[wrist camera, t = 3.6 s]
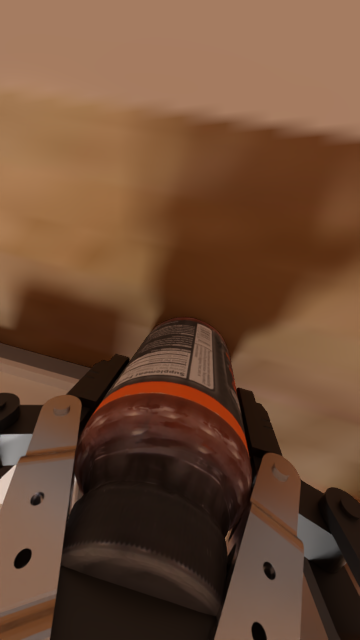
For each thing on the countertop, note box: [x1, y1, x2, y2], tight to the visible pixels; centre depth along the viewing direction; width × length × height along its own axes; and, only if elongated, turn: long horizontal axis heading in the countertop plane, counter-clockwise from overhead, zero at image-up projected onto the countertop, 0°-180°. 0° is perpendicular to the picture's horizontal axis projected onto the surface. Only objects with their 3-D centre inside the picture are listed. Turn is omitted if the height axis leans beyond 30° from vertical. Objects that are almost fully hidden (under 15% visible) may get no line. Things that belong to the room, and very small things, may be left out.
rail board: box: [0, 343, 91, 509], centre depth 17 cm, size 20×11×6 cm, turn 167°
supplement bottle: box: [61, 317, 252, 616], centre depth 10 cm, size 6×6×11 cm
